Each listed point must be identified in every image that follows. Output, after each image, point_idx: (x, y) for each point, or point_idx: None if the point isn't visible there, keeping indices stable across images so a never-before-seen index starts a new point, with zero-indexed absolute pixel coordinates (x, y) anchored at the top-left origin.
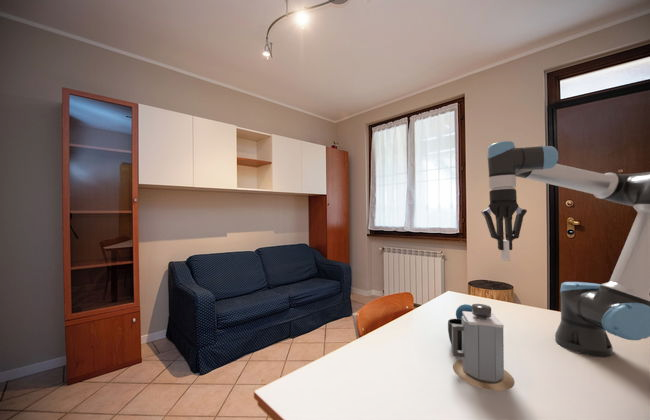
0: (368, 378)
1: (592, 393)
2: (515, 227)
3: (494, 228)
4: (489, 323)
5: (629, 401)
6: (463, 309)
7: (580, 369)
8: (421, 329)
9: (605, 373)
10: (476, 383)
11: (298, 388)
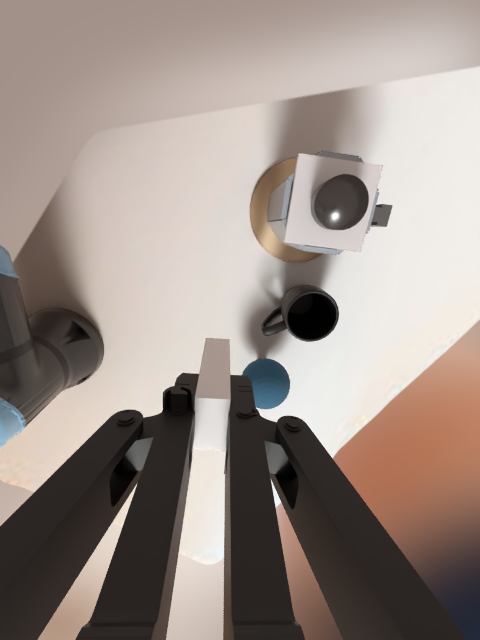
0: None
1: (138, 181)
2: (86, 516)
3: (322, 492)
4: (331, 160)
5: (92, 166)
6: (280, 382)
7: (114, 259)
8: (345, 375)
9: (79, 251)
10: None
11: None
